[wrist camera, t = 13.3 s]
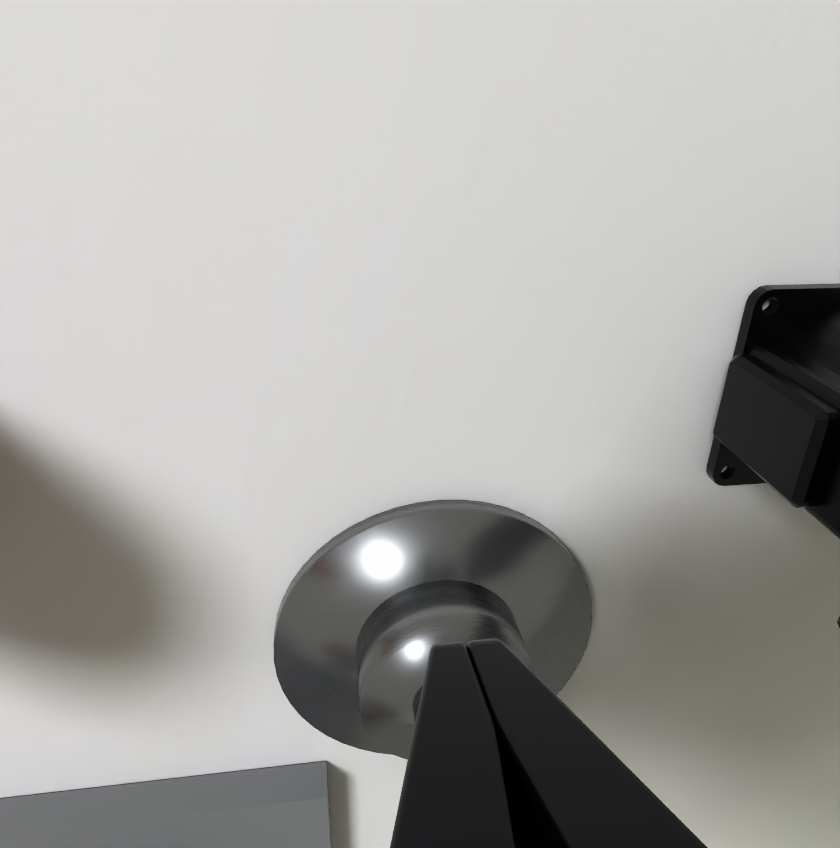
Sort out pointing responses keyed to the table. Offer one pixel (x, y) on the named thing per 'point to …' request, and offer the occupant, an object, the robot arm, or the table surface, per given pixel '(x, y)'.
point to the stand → (422, 613)
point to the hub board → (179, 813)
